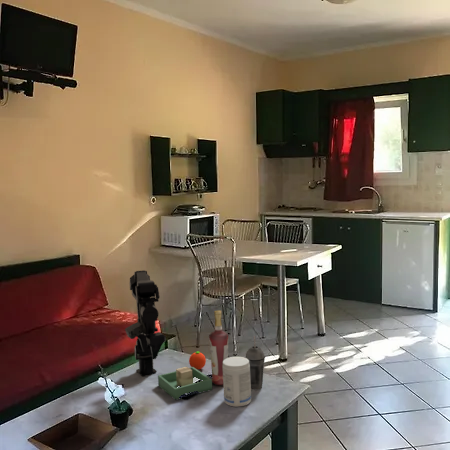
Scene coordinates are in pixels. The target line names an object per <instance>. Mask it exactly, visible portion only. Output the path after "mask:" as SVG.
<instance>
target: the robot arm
mask: <svg viewBox="0 0 450 450" xmlns="http://www.w3.org/2000/svg"><path fill="white" fill-rule="evenodd" d="M128 284H129V290H130V291H131V295H132V297H133V298H134V299H135V300H136V303H135V304H136V310H137V311H136V313H137V321H136V322H134V323H133V324H131V325H129V326H127V327H126V328H125V329H124V330H125V333H126V335H127V337H128V338H129V339H130V340H133V339H135V338H137V339H136V341H135V344H134V358H135V361H138V369H136V373H138V374H139V375H140V376H147V375H151V374H152V375H153V374H155V373H157V370H156V369H155V368H154V360H156V359H157V357H158V356H159V355H158V354H159V353H160V350H161V348H162V346H163V344H164V343H166V341H167V340H166V335H165V334H163V333H162V332H160V331H159V328H157V327H156V323H157V322H158V318H159V311H158V309H157V307H156V304H155V303H157V302H159V299H160V291H159V287H158V284H157V283H156V284H155V281H154V280H151V277H150V275H149V274H148V271H147V270H145V269H143V270H136V271H134V273H133V275H132V276H130V278H129V283H128ZM156 321H157V322H156Z"/></svg>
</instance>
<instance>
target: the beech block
mask: <svg viewBox="0 0 450 450" xmlns="http://www.w3.org/2000/svg"><path fill="white" fill-rule="evenodd" d="M190 368H191V367H188V366H184V367H179V368H176V369H175V371H176V380H177V385H178V386H181V387H182V386H185V385H189V384H193V376H192V370H191V369H190Z"/></svg>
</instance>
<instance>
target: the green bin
mask: <svg viewBox="0 0 450 450" xmlns="http://www.w3.org/2000/svg"><path fill="white" fill-rule="evenodd" d="M189 368H190V369H191V370H192V376H193V378H194V377H196V378H198V379H201V380H203V381H200V382H197V383H193V384H189V385H185V386H182V387H178V385H177V380H176V370H175V371H170V372H167V373H163V374H159V375H157V382H158V383H157V384H158V387H159V388H161V389H162V390H163V391H164V392H165V393H167V395H169V396H170V397H171V398H172V397H173V398H172V399H173V400H175V401H177V399H178V400H180V399H179V397H180V396H181V395H183V394H185V393H189V392H194V391H198V392H203V391H206V392H209V391H208V390H210V391H212V390H213V382H212V378H210V377H209V376H208V375H206V374H204V373H203V372H201V371H200V370H199V369H198V370H197V369H195V368H194V367H191V366H190V367H189ZM177 387H178V388H177ZM203 393H204V392H203Z"/></svg>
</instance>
